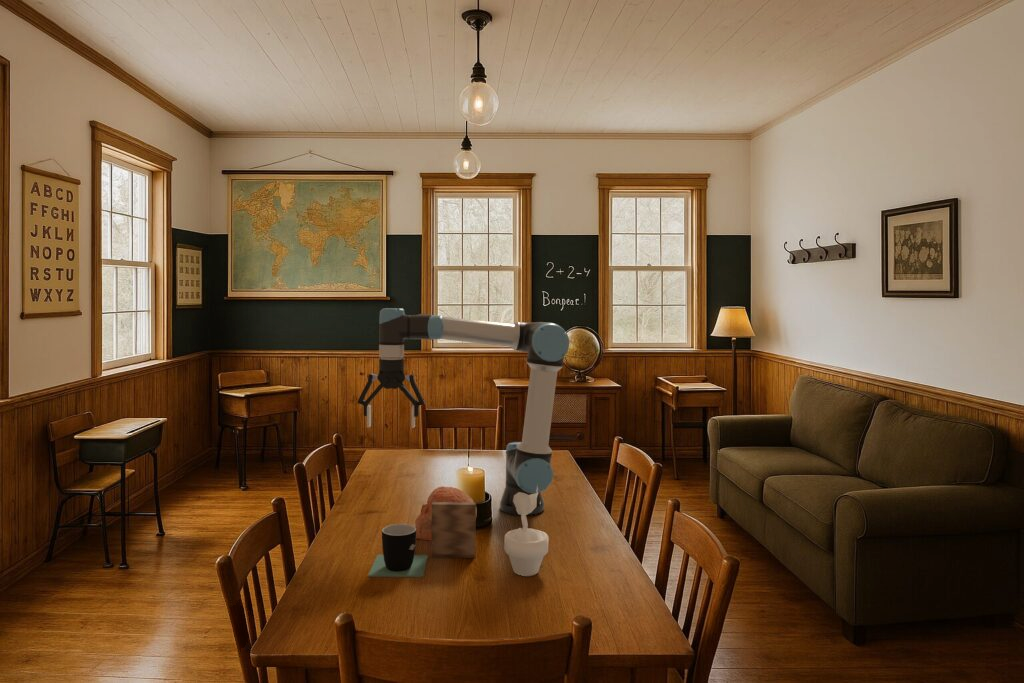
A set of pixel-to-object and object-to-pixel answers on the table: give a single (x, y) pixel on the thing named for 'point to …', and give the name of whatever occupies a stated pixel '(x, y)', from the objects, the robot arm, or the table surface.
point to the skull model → (425, 517)
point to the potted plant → (526, 539)
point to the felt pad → (414, 571)
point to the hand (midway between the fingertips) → (391, 427)
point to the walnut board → (453, 530)
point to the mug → (398, 546)
